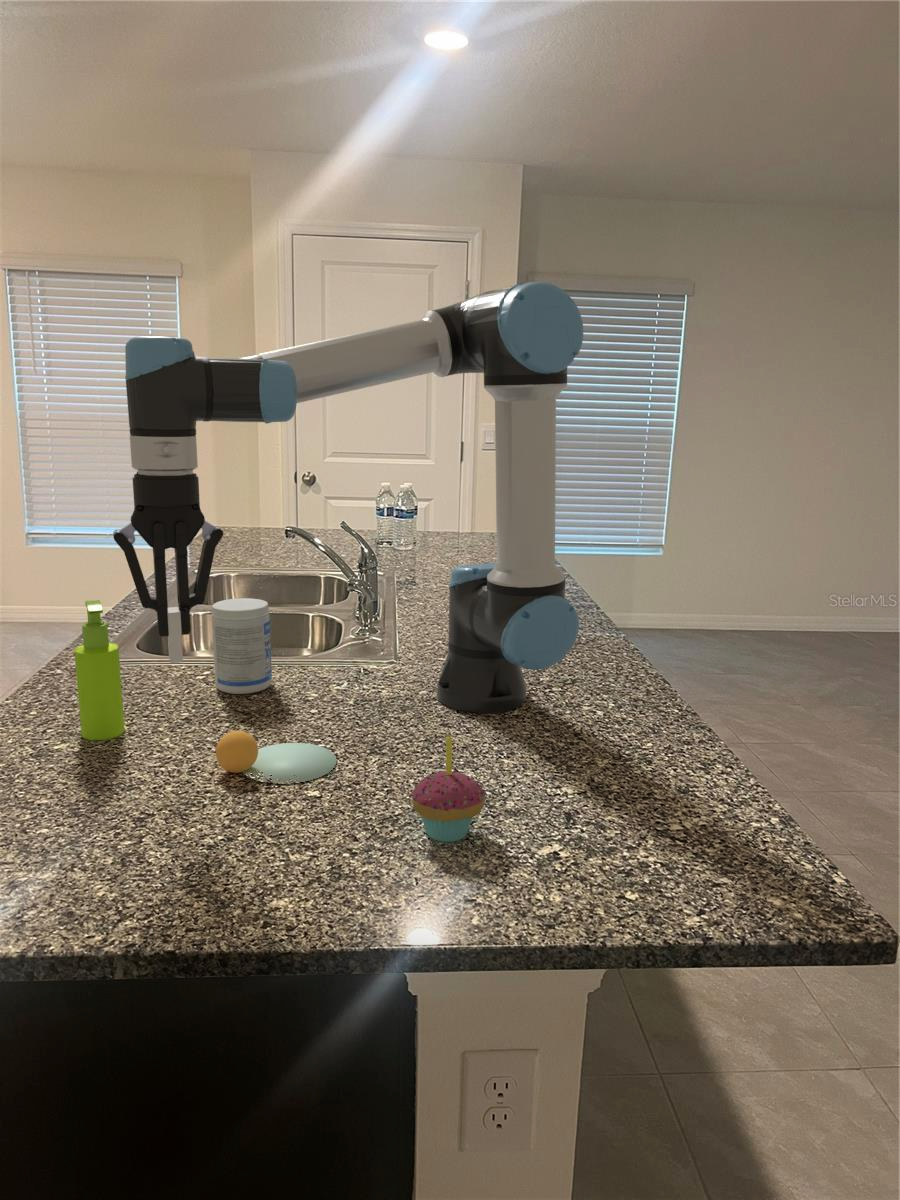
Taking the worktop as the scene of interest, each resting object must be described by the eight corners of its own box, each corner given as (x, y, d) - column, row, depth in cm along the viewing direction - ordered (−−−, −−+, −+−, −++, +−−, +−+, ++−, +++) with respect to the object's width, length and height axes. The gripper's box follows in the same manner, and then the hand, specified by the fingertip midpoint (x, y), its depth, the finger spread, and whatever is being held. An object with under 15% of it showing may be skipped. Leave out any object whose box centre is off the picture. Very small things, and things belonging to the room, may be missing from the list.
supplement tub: (280, 690, 143) (278, 607, 139) (226, 699, 138) (222, 613, 134) (259, 674, 151) (257, 595, 147) (207, 682, 145) (203, 600, 142)
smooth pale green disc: (353, 754, 118) (353, 752, 118) (304, 792, 106) (304, 790, 106) (275, 738, 123) (275, 736, 123) (220, 773, 111) (220, 771, 111)
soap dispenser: (83, 745, 119) (72, 609, 114) (80, 728, 124) (68, 598, 120) (127, 739, 121) (118, 605, 116) (121, 722, 127) (112, 595, 122)
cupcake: (410, 815, 101) (411, 723, 99) (479, 813, 102) (482, 722, 99) (413, 852, 93) (414, 753, 90) (488, 851, 94) (492, 752, 91)
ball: (200, 760, 110) (230, 784, 112) (226, 750, 107) (256, 775, 109) (218, 728, 114) (246, 752, 116) (244, 718, 111) (272, 743, 113)
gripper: (107, 475, 94) (121, 674, 100) (225, 474, 99) (233, 663, 105) (106, 469, 101) (119, 655, 106) (217, 468, 106) (224, 646, 111)
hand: (175, 659), depth 105 cm, fingers closed
